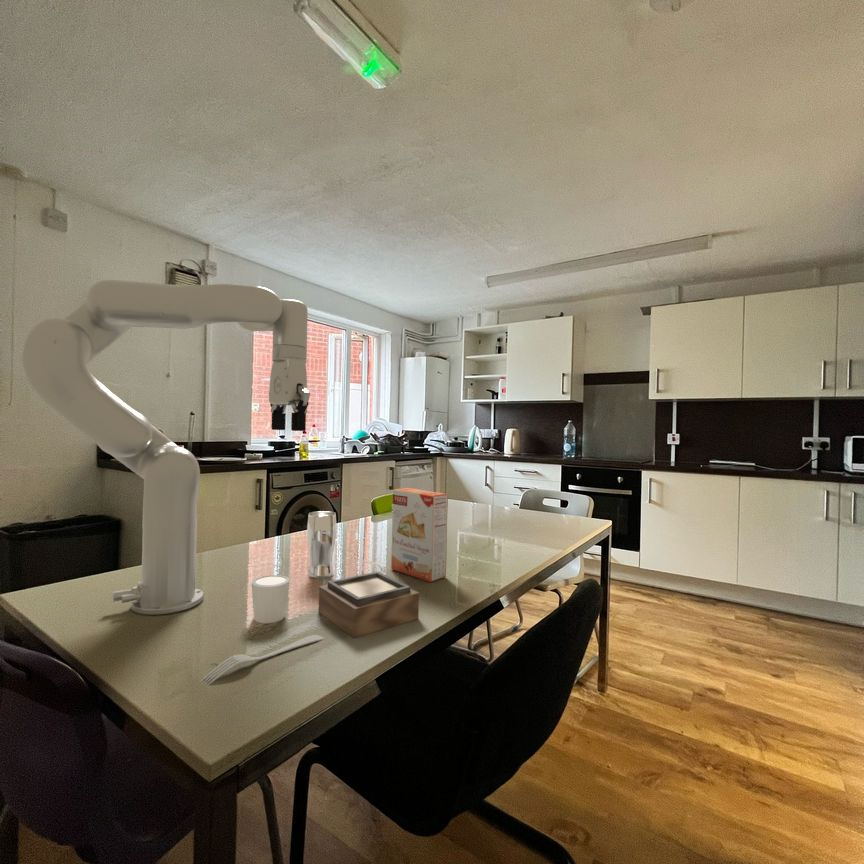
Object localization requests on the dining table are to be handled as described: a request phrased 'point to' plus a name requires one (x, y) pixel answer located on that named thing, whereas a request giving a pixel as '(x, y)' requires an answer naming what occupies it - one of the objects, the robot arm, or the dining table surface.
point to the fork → (243, 658)
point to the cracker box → (419, 533)
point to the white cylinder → (270, 598)
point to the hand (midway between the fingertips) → (288, 430)
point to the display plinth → (368, 603)
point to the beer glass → (321, 543)
